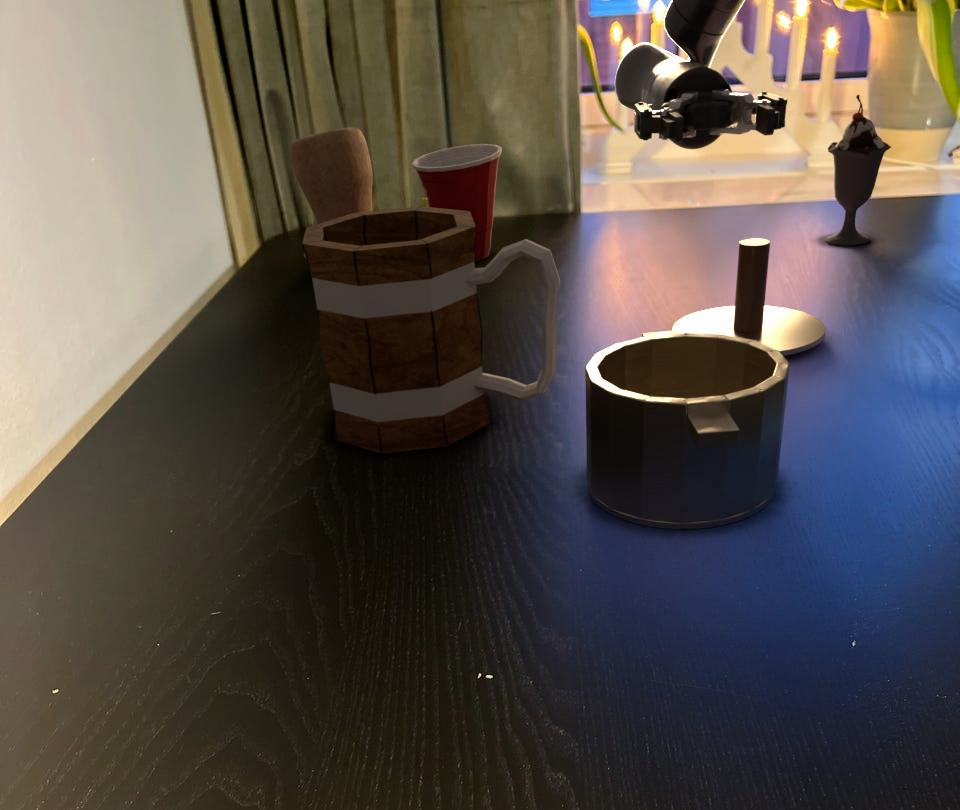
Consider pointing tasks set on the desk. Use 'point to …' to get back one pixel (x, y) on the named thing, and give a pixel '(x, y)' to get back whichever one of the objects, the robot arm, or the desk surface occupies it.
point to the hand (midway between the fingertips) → (725, 126)
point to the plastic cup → (464, 185)
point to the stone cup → (334, 172)
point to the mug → (413, 325)
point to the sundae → (855, 173)
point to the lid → (756, 310)
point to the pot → (684, 428)
